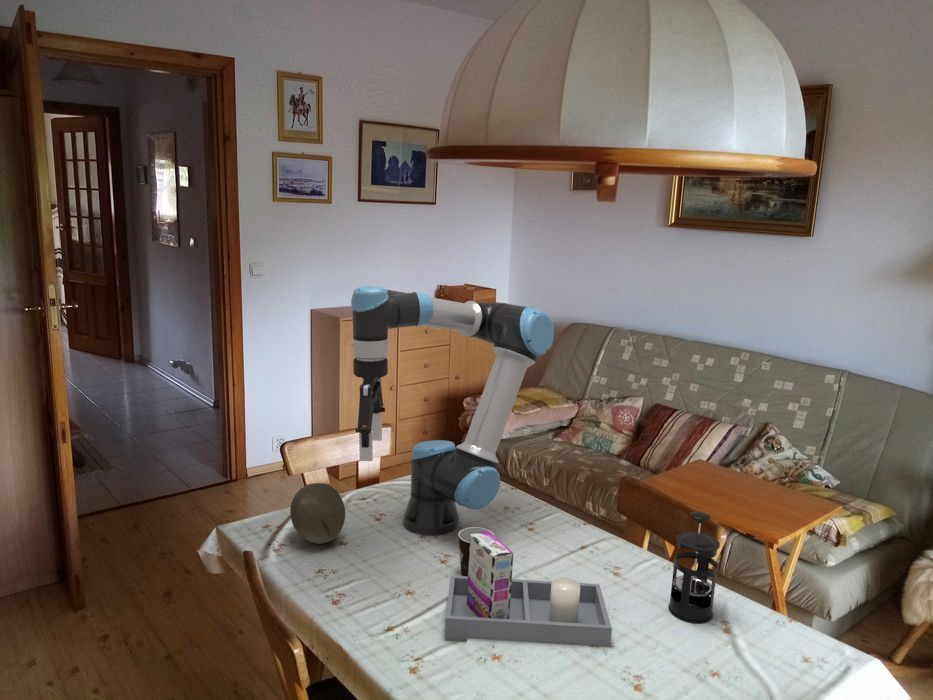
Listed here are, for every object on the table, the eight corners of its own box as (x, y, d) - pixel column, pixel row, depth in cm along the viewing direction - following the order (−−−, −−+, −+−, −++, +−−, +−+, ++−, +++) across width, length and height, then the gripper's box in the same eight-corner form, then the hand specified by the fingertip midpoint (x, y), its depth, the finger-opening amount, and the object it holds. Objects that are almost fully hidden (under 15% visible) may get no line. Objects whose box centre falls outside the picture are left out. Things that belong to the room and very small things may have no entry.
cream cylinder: (548, 611, 153) (550, 577, 151) (575, 612, 152) (578, 578, 151) (550, 627, 147) (552, 591, 145) (579, 628, 147) (581, 593, 145)
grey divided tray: (449, 595, 159) (450, 575, 158) (597, 603, 158) (599, 584, 157) (444, 639, 142) (445, 618, 141) (609, 650, 141) (611, 628, 140)
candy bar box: (510, 625, 147) (514, 552, 144) (489, 631, 145) (492, 556, 141) (486, 598, 157) (489, 529, 153) (465, 603, 154) (468, 533, 151)
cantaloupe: (352, 532, 188) (353, 478, 185) (333, 556, 174) (334, 499, 171) (302, 526, 190) (302, 473, 187) (279, 550, 176) (279, 493, 174)
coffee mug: (489, 585, 164) (491, 545, 162) (452, 580, 165) (454, 540, 163) (497, 562, 175) (499, 524, 173) (463, 557, 176) (464, 520, 175)
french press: (702, 630, 149) (713, 528, 145) (660, 613, 155) (670, 515, 151) (721, 607, 158) (733, 511, 154) (680, 592, 164) (691, 499, 160)
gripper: (363, 346, 168) (364, 432, 172) (341, 370, 143) (343, 469, 147) (395, 346, 167) (395, 432, 172) (378, 371, 143) (379, 470, 147)
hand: (371, 450), depth 160 cm, fingers open, 13 cm apart
